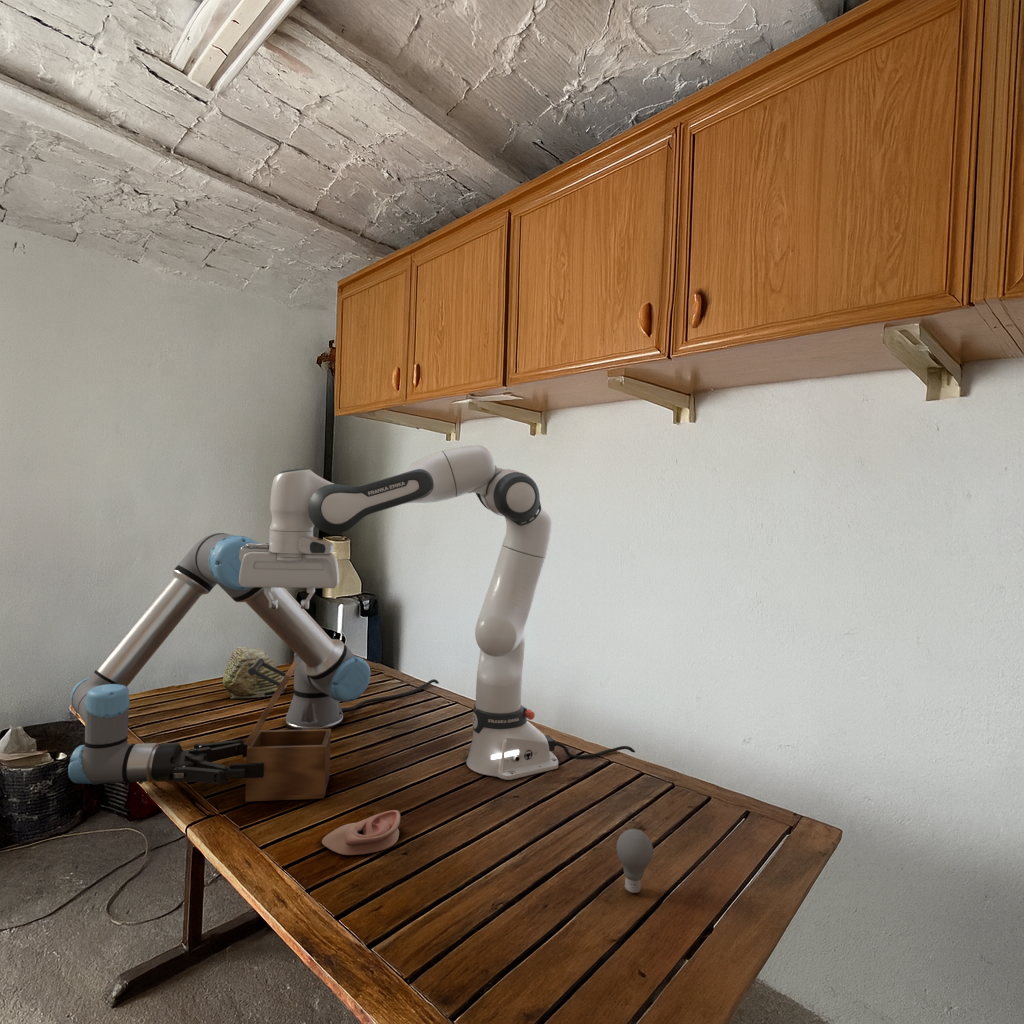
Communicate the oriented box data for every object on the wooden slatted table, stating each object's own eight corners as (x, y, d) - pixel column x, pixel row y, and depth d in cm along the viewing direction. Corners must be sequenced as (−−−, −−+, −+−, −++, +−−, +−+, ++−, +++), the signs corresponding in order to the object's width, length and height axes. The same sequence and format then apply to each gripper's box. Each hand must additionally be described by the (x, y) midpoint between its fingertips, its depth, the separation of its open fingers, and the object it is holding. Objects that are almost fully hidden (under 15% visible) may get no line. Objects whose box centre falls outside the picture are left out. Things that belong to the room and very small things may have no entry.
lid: (298, 664, 141) (265, 647, 140) (290, 677, 131) (254, 658, 130) (260, 728, 140) (226, 712, 139) (249, 746, 130) (212, 729, 129)
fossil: (218, 695, 195) (220, 647, 195) (278, 685, 208) (279, 640, 207) (228, 703, 189) (230, 653, 188) (289, 692, 201) (290, 645, 201)
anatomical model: (313, 828, 113) (343, 799, 125) (313, 850, 113) (342, 819, 125) (383, 839, 111) (407, 808, 122) (382, 862, 111) (406, 829, 122)
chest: (329, 777, 143) (331, 728, 143) (323, 798, 133) (325, 746, 133) (256, 780, 140) (257, 730, 140) (245, 801, 130) (246, 748, 130)
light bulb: (610, 879, 108) (613, 822, 108) (644, 879, 109) (647, 822, 109) (619, 902, 102) (622, 840, 102) (655, 901, 103) (658, 840, 103)
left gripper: (175, 758, 143) (278, 755, 147) (133, 806, 121) (256, 802, 125) (176, 725, 143) (279, 723, 147) (134, 767, 121) (257, 764, 124)
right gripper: (235, 543, 131) (233, 610, 131) (338, 546, 134) (336, 611, 134) (243, 541, 137) (241, 605, 137) (341, 544, 140) (339, 606, 141)
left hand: (268, 759), depth 136 cm, fingers closed on chest, 10 cm apart
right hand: (289, 608), depth 136 cm, fingers open, 5 cm apart
